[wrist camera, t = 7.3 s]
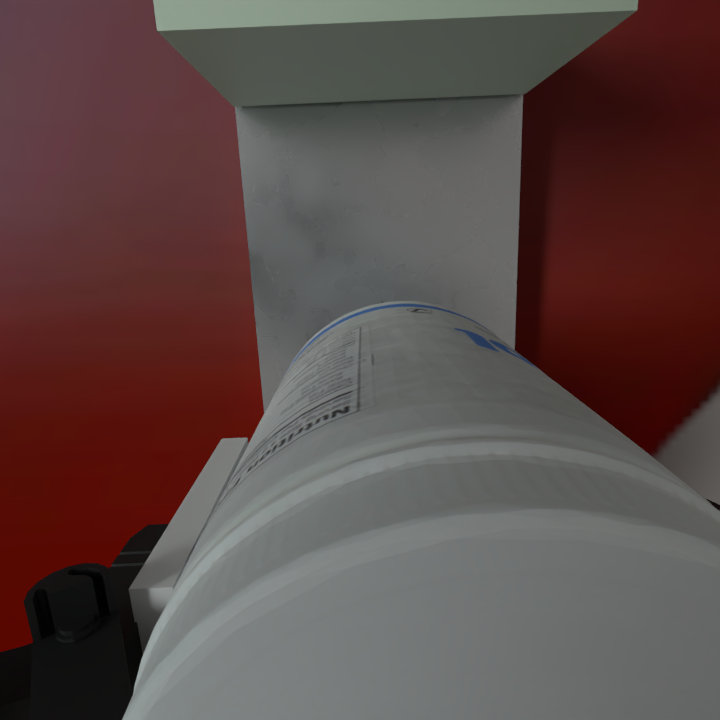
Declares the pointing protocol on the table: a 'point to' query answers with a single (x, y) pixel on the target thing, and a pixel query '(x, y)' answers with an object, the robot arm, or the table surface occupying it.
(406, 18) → the block
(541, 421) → the supplement tub
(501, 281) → the vise
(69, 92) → the table surface
